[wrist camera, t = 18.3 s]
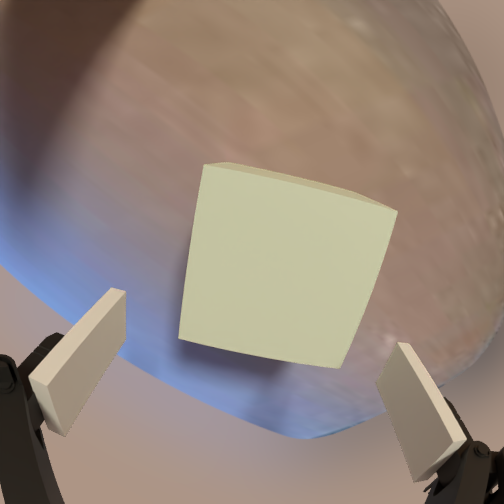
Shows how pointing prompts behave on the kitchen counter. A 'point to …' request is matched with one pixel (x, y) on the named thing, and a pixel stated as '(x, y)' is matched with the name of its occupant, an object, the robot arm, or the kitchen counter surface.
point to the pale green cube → (280, 264)
